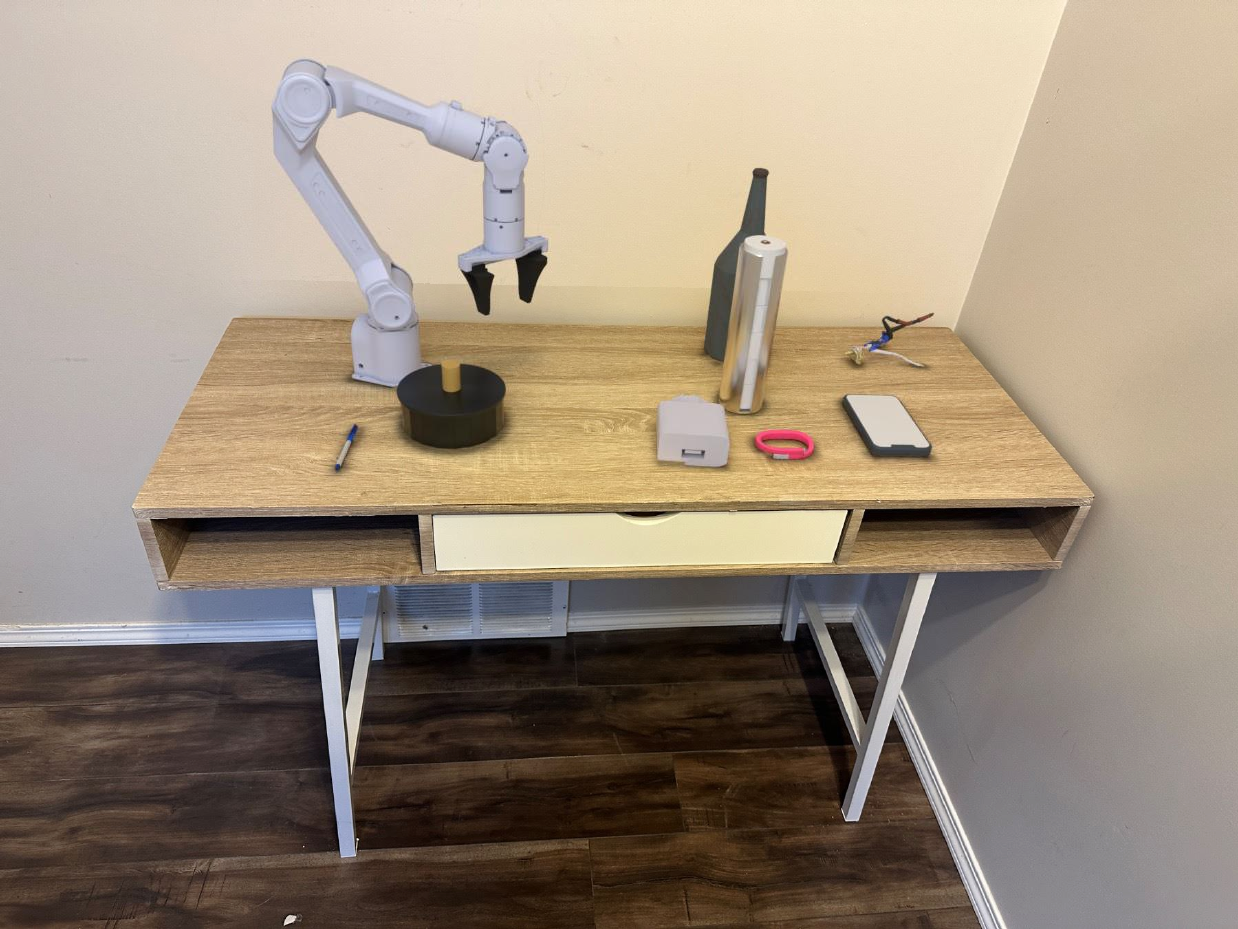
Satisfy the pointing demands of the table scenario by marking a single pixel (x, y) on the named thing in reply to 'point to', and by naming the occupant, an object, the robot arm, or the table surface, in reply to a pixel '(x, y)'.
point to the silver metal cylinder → (752, 323)
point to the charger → (692, 431)
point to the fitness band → (785, 452)
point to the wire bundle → (884, 340)
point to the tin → (453, 428)
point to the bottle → (733, 267)
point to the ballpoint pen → (346, 447)
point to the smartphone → (886, 425)
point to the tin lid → (451, 390)
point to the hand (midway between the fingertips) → (504, 306)
